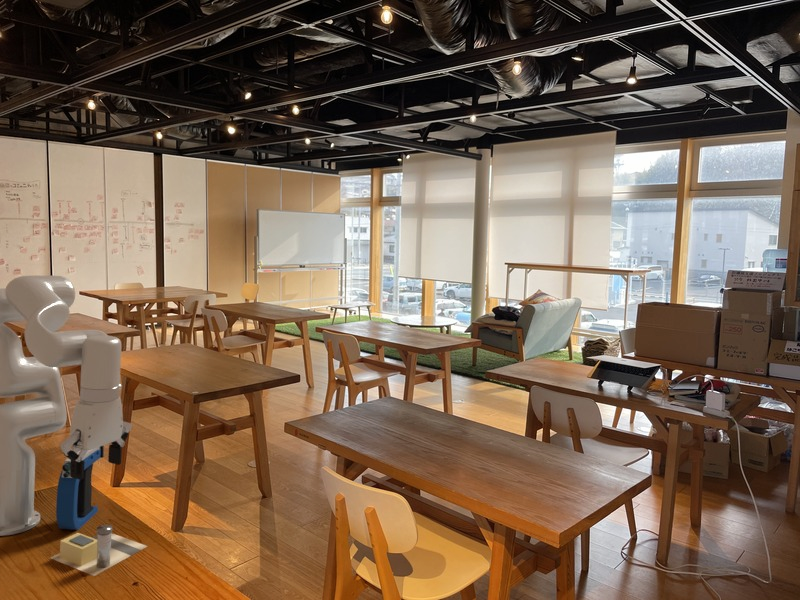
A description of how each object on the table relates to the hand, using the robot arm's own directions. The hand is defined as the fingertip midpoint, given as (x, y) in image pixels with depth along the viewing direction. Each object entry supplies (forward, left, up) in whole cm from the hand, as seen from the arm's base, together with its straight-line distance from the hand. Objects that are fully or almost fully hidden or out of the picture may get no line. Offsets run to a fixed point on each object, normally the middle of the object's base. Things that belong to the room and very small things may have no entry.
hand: (96, 470), depth 128 cm
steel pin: (-1, +4, -24) cm, 24 cm away
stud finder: (-8, +3, -24) cm, 25 cm away
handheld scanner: (-23, +15, -25) cm, 37 cm away
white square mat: (-6, +7, -25) cm, 26 cm away
